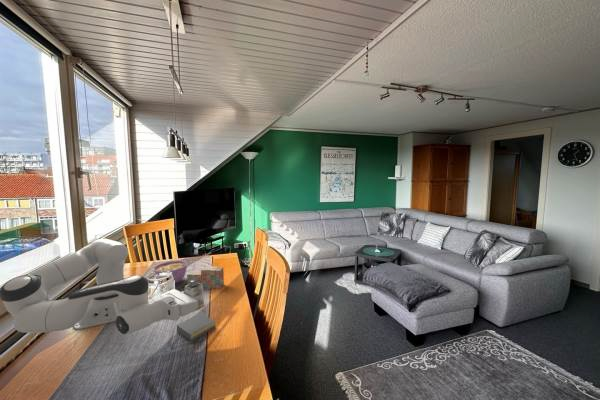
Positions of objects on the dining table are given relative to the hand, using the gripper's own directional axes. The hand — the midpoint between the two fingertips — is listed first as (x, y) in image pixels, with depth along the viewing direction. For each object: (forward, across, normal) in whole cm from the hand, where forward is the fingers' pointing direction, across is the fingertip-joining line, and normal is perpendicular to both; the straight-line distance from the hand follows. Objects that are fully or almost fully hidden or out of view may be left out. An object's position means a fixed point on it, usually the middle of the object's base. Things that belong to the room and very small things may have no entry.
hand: (196, 293), depth 113 cm
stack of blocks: (+28, -36, -17) cm, 49 cm away
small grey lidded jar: (-1, 0, -6) cm, 6 cm away
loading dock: (-1, 0, -17) cm, 17 cm away
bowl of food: (+18, -61, -17) cm, 66 cm away
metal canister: (-1, 0, +3) cm, 3 cm away
